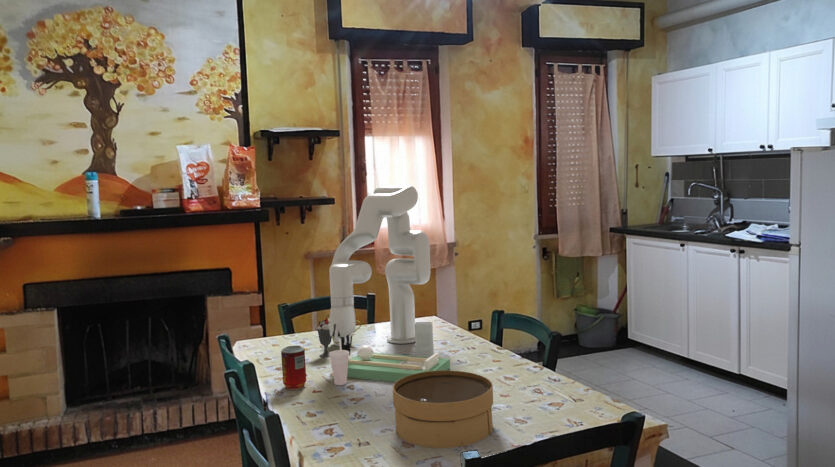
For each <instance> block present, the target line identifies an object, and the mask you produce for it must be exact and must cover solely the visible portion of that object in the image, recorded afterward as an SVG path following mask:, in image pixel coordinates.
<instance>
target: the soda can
mask: <svg viewBox="0 0 835 467" xmlns="http://www.w3.org/2000/svg"><path fill="white" fill-rule="evenodd" d="M280 352H281V354H280V355H281V356H280V357H281V370H282V382H283V385H284V388H285V389H286V390H290V391H291V390H292V391H293V390H294V391H295V390H302V389H303V388H304V387H305V385H306V383H307V370H306V365H307V364H306V355H305V354H306V351H305V348H304V347H303V346H301V345H289V346H286V347H284V348H282V349H281V351H280Z"/></svg>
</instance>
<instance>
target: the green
mask: <svg viewBox="0 0 835 467" xmlns="http://www.w3.org/2000/svg"><path fill="white" fill-rule="evenodd" d="M439 354H440V353H439V352H434V354H433V355H432V356H431V357H419V356H416V355H407V354H406V355H404V354H391V353H382V352H381V353H379V352H373V356H372V358H371V359H370V360H368V361H363V360H361V359H360V358H359V356H358V354H356V355H355V356H352V357H351V358H350V359H349V358H348V372H347V378H351V379H352V378H354V379H361V380H363V379H365V380H372V381H373V380H375V381H384V382H392V383H393V382H394V383H396V382H397V381H398V380H400V379H401V378H404V377H406V376H409V375H412V374H416V373H421V372H428V371H449V369H451V359H450V358H442V357H441V358H440V357H439V356H440V355H439Z"/></svg>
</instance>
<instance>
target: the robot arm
mask: <svg viewBox="0 0 835 467" xmlns="http://www.w3.org/2000/svg"><path fill="white" fill-rule="evenodd" d="M418 198H419V194H418V191H417V189H416V187H414V186H413V185H410V184H409V185H408V184H402V185H401V184H400V185H398V184H397V185H395V184H393V185H383V186H381V185H380V186H378V187H376V188H375V189H374V190H373V194H369V195H367V196H365V198H364V199H363V201H362V204H361V207H360V211H359V214H358V216H357V219H356V224H355V227H354V229H353V231H352V232H351V233H350V234H349V235H348V236H346V238H345V239H344V240H342V242H341V243H339V245H338V247H337V248H336V250H335V252H334V255H333V258H332V262H331V265H330V266H329V269H328V270H329V289H330V290H329V291H330V292H329V293H330V306H331V307H330V311H329V318H330V336H331V337H333V336H335V337H334V341H336V342H338V344H339V339H341V348H342V350H347V351H349V354H350V355H351V344H349V343H350V342H351V336H352V335H353V336H354V334H355V332H356V331H357V330H356V329H357V328H356V326H357V322H356V313H355V306H354V305H355V304H354V303H355V299H354V298H355V297H354V284H363V283H366V282H367V281H369V280H370V278H371V277H372V274H373V271H372V270H373V269H372V267H371V265H370V264H369V263H368V262H367V261H364V260H350V258H351V256H352V255H353V253H355V252H356V251H357V250H359V249H361V248H363V247H365V246H367V245H369V244H371V243H373V242H375V241H377V239H378V236H379V233H380V229H381V226H382V223H383V220H384V218H385V219H386V223H387V242H388V250H389V252H390V253H391V254H392V255H397V256H412V257H413V258H393V259H391V260H389V261H387V263H386V265H385V272H384V273H385V278H386V282H387V287H388V296H389V297H388V299H389V317H390V318H389V321H390V325H389V326H390V335H388V336H387V337H386V341H387V342H388V343H389V344H390V343H391V344H396V345H397V344H399V345H400V344H401V345H402V344H403V345H404V344H413V343H416V342H415V323H416V316H415V315H416V311H415V310H416V309H415V294H414V290H413V289H412V287H411V285H424V284H426V283H428V282H429V281H430V278H431V272H432V270H431V247H430V239H429V236H428V235H427V233H426V232H424V230H419V229H417V230H416V229H415V230H414V229H413V230H411V224H410V215H409V213H408V212H409V211H410V210H411V209H413V208H414V207H415V206H416V204H417V202H418ZM355 330H356V331H355ZM354 331H355V332H354ZM353 336H352V337H353ZM338 347H339V348H338V350H340V344H339V346H338Z"/></svg>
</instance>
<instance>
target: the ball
mask: <svg viewBox="0 0 835 467" xmlns="http://www.w3.org/2000/svg"><path fill="white" fill-rule="evenodd" d="M373 353H374V350H373V348H372V347H371V346H369V345H367V344H364V345H362V346H360V347H359V348H358V351H357V355H358V356H359V358H360V359H361V360H363V361H368V360H370V359H371V358H372V356H373Z"/></svg>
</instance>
